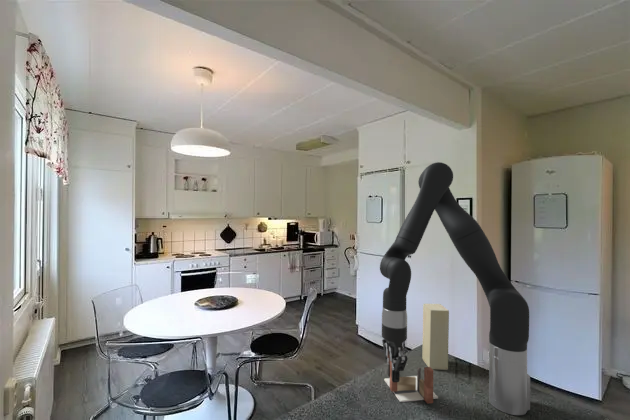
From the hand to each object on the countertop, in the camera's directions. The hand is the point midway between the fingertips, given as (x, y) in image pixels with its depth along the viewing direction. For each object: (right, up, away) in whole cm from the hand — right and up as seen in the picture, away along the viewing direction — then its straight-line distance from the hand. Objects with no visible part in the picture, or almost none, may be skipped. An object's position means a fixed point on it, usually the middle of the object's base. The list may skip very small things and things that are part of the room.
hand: (393, 379), depth 92 cm
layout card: (+6, -4, +2) cm, 7 cm away
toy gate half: (+3, -3, 0) cm, 4 cm away
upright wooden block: (+20, -5, +18) cm, 27 cm away
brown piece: (+8, -4, -2) cm, 10 cm away
